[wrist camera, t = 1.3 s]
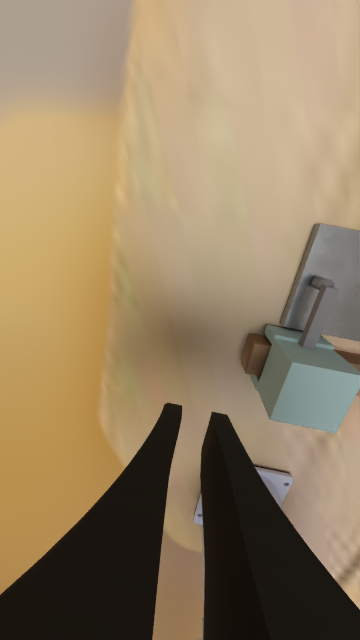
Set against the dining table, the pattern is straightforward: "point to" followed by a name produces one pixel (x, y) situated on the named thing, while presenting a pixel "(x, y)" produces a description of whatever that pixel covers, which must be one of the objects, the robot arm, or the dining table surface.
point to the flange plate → (337, 265)
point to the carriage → (307, 371)
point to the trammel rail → (260, 349)
